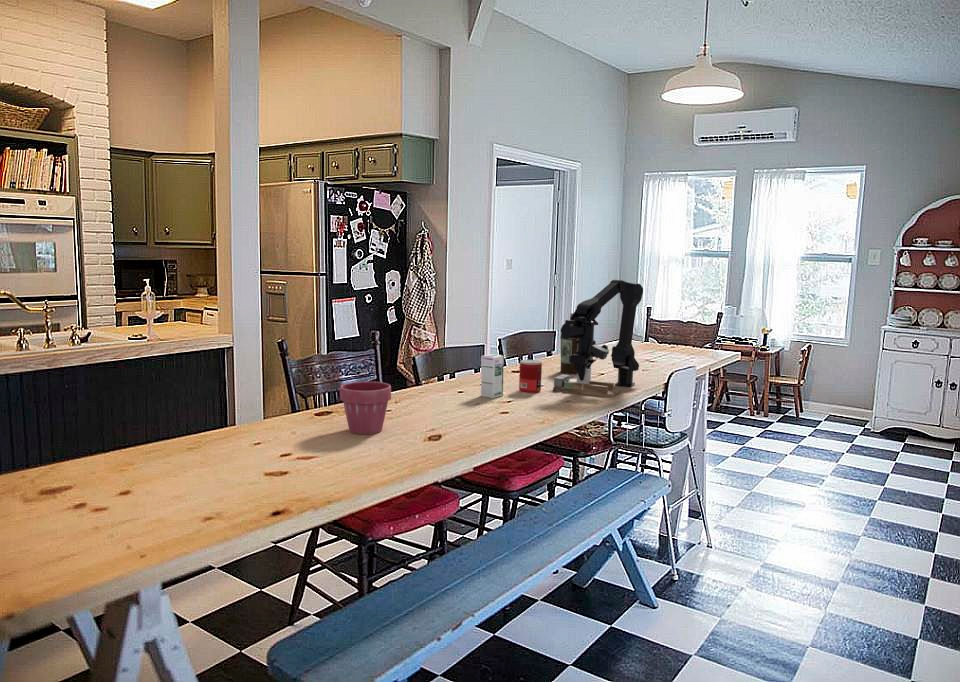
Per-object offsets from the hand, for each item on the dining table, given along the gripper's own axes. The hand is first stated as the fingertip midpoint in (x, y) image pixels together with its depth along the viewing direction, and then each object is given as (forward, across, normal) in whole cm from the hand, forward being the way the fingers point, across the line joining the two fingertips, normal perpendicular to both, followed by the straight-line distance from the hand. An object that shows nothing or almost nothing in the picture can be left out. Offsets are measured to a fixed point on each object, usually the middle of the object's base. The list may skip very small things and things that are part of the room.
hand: (583, 379), depth 264 cm
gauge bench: (+4, 0, -1) cm, 4 cm away
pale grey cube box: (+3, -1, +2) cm, 4 cm away
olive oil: (+4, +36, +17) cm, 40 cm away
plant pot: (+4, -89, +35) cm, 96 cm away
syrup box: (+4, -27, +25) cm, 37 cm away
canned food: (+4, -11, +17) cm, 21 cm away
